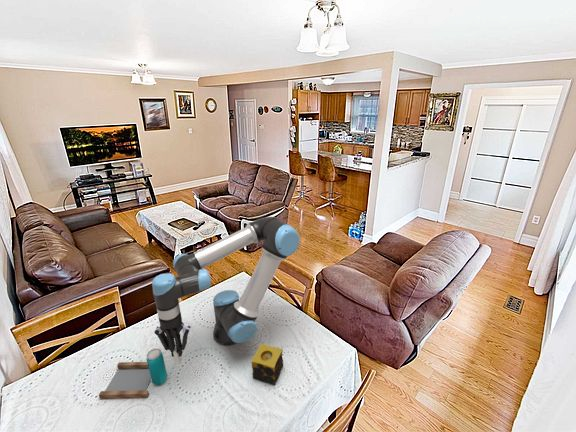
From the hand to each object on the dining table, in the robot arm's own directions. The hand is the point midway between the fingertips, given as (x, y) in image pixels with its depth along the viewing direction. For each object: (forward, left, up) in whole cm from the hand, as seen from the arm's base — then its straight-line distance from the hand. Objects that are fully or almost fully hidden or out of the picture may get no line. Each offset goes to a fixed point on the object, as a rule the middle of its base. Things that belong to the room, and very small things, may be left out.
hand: (178, 361), depth 111 cm
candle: (-35, -3, -11) cm, 37 cm away
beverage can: (+9, 0, -11) cm, 14 cm away
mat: (+21, 0, -11) cm, 23 cm away
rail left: (+20, +6, -11) cm, 23 cm away
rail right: (+20, -7, -11) cm, 24 cm away
